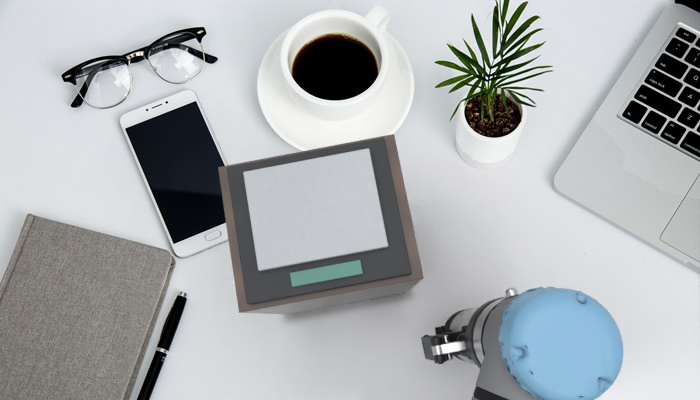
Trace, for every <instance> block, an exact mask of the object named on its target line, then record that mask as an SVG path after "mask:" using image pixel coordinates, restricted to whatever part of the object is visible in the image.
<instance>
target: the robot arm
mask: <svg viewBox="0 0 700 400" xmlns="http://www.w3.org/2000/svg"><path fill="white" fill-rule="evenodd" d="M478 307H479V308H478V309H477V310H476V311H475V313H474V314H473V315H472V317H471V319H470V321H469V323H468V325H466V326H462V329H461V331H452V330H447V329H445V325H439V326H435V327H434V331H435V334H433V335H430V334H424V335H422V336H421V337H420V339H421V345H422V350H423V355H424V359H425V360H428V361H434V364H438V365H443V364H444V363H446V362H448V361H451V360H454V355H462V356H465V357H468V359H470V360H473V361H474V363H475V364H476V365H475V366H476V367H478V368H479V372H478V375H477V378H476V381H475V388H474V390H473V394H472V396H471V400H596V399H599V397H601V396H603V394H604V393H606V392H607V391H608V390H609V389H610V388H611V387H612V386H613V385H614V383H615V381H617V378H618V377H619V374H620V373H621V369H622V367H623V361H624V343H623V337H622V333H621V331H620V328H619V326H618V324H617V322H616V320H615V318H614V317H613V316H612V314H611V313H610V312H609V311H608V309H607V308H606V307H604V305H603V304H601V302H600V301H598V300H597V299H595V298H594V297H592V296H590V295H589V294H586V293H584V292H582V291H581V290H575V289H571V288H564V287H555V286H547V287H543V286H538V287H533V288H530V289H527V290H524V291H522V292H521V293H520V294H519V292H518V289H517V288H515V287H509V288H507V289H506V290H505V296H501V297H497V298H494V299H490V300H488V301H486V302H484V303H483V304H481V305H480V306H478Z"/></svg>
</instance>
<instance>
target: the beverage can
mask: <svg viewBox="0 0 700 400" xmlns="http://www.w3.org/2000/svg"><path fill="white" fill-rule="evenodd" d="M479 307H480V306H476V307H471V308H465V309H461V310H459V311H456V312H454V313H452V314H451V316H450V317H448V319H447V320H446V322H445V323H444V326H445V329H447V330H452V331H461V329H462V326H466V325H468V323H469V321H470V319H471V317H472V315H473V314H474V313H475V311H476V310H477V309H478V308H479ZM453 357H455V358H456V359H458V360H460V361H464V362H467V363H469V364H472V365H474V366H477V365H476V364H475V363H474V361H473V360H470V359H468V357H465V356H462V355H453Z"/></svg>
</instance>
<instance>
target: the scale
mask: <svg viewBox="0 0 700 400" xmlns="http://www.w3.org/2000/svg"><path fill="white" fill-rule="evenodd" d="M227 173H228V180H229V187H230V194H231V200H232V207H233V214H234V221H235V227H236V234H237V241H238V247H239V254H240V261H241V268H242V274H243V281H244V288H245V295H246V301H247V304H250V305H251V304H256V303H262V302H267V301H272V300H278V299H283V298H288V297H294V296H299V295H304V294H310V293H315V292H320V291H326V290H331V289H336V288H341V287H347V286H352V285H357V284H363V283H368V282H373V281H379V280H384V279H389V278H395V277H400V276H405V275H410V274H411V273H412V272H411V267H410V262H409V257H408V252H407V247H406V242H405V237H404V233H403V228H402V223H401V218H400V213H399V208H398V203H397V198H396V193H395V188H394V183H393V178H392V173H391V168H390V163H389V159H388V154H387V149H386V144H385V139H384V138H379V139H374V140H369V141H364V142H358V143H353V144H348V145H342V146H337V147H332V148H327V149H321V150H316V151H311V152H305V153H300V154H295V155H290V156H284V157H279V158H274V159H268V160H263V161H258V162H253V163H247V164H242V165H237V166H231V167H227Z"/></svg>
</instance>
